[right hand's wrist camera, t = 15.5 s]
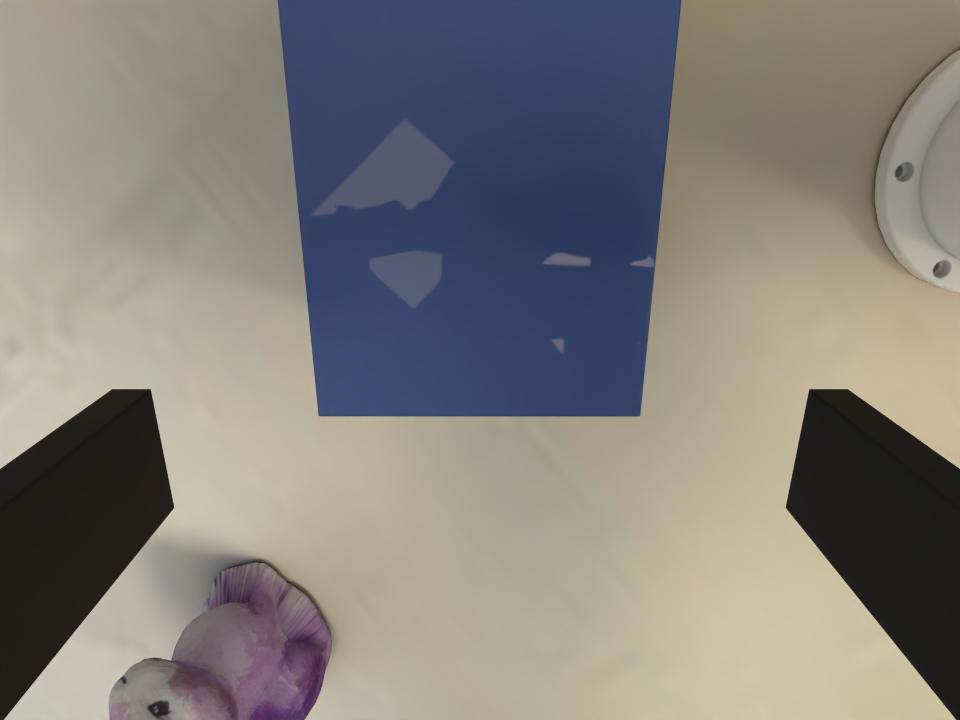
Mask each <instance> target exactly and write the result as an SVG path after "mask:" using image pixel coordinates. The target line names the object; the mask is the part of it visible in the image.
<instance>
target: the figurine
mask: <svg viewBox="0 0 960 720" xmlns="http://www.w3.org/2000/svg"><path fill="white" fill-rule="evenodd" d="M202 610H203V614H201V615H200V616H199V617H197V618H196V619H195V620H193V621H192V622H191V623H190V624H189V625H188V626H187V627H186V628H185V629H184V631H183V632H182V634H181V636H180V638H179V640H178V642H177V644H176V647H175V649H174V653H173V656H172V660H171V661H170V660H165V659H161V658H149V659H144V660H142V661H141V662H139V663H136V664H135V665H133V666H132V667H130V668H129V669H128V670H127V672H126V673H125V674H124V675H123V677H121V678H120V679H119V680H118V681H117V682H116V684H115V685H114V687H113V688H112V691H111V693H110V698H109V712H110V720H305V718H306V717H307V715H308V713H309V712H310V710H311V709H312V707H313V706H314V704H315V703H316V700H317V698H318V696H319V693H320V691H321V687H322V683H323V679H324V673H325V669H326V667H327V664H328V661H329V658H330V652H331V643H332V641H331V636H330V632H329V631H328V628H327V627H326V625H325V623H324V621H323V619H322V617H321V615H320V613H319V612H318V610H317V608H316V607H315V605H314V604H313V603H312V601H311V600H310V599H309V598H308V595H307V594H305V593H303V592H301V591H300V590H299V589H297V588H296V587H294V586H292V585H291V584H289V583H287V582H286V581H285V580H284V579H282V578H281V577H280V575H279V574H277V573H276V571H275V570H274V569H272V568H271V567H269V566H268V565H267V564H265V563H257V562H255V563H251V564H247V565H243V566H241V565H240V566H239V567H237V566H236V567H235V568H233V567H232V568H228V569H227V570H225V571H222V573H219V574H218V576H217V577H216V578H215V579H214V581H213V583H212V587H211V595H210V598H209V599H208V600H207V601H206V602H205V604H204V606H203V609H202Z"/></svg>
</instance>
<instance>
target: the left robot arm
mask: <svg viewBox="0 0 960 720" xmlns="http://www.w3.org/2000/svg"><path fill="white" fill-rule="evenodd" d="M896 169H897V173H896V174H895V172H896ZM875 207H876V213H877V219H878V225H879V228H880V230H881V233H882V235H883V238H884V240H885V242H886V245H887V247H888V248H889V249H890V251H891V252H892V254H893V255H894V256H895V258H896V259H897V261H898V262H899V263H900V264H901V265H902V266H903V267H905V268H906V269H907V270H908V271H909V272H910V273H912V274H913V275H914V276H915V277H917V278H919V279H921V280H923V281H925V282H927V283H929V284H931V285H933V286H936V287H939V288H942V289H945V290H948V291H951V292H954V293H959V294H960V49H959V50H958V51H956V52H955V53H953V54H952V55H950V56H949V57H948V58H947V59H945V60H944V61H943V62H942V63H941V64H940V65H939V66H938V67H937V68H935V69H934V70H933V71H932V72H931V73H930V74H929V75H928V76H927V77H926V78H925V79H924V80H923V81H922V83H921V84H920V85H919V86H918V87H917V89H916V90H915V91H914V92H913V93H912V95H911V96H910V97H909V98H908V100H907V101H906V103H905V104H904V106H903V108H902V109H901V111H900V113H899V114H898V116H897V118H896V119H895V121H894V123H893V124H892V126H891V129H890V131H889V134H888V136H887V139H886V141H885V144H884V146H883V149H882V151H881V155H880V159H879V164H878V169H877V173H876V178H875Z"/></svg>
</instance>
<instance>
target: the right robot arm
mask: <svg viewBox="0 0 960 720" xmlns="http://www.w3.org/2000/svg"><path fill="white" fill-rule="evenodd" d="M173 509H174V504H173V499H172V494H171V489H170V484H169V479H168V474H167V469H166V464H165V459H164V454H163V449H162V444H161V439H160V434H159V429H158V424H157V419H156V414H155V409H154V404H153V399H152V394H151V389H112V390H111V391H109V392H108V393H106V394H105V395H104V396H102V397H101V398H99V399H98V400H97V401H95V402H94V403H92V404H91V405H90V406H88V407H87V408H85V409H84V410H83V411H81V412H80V413H78V414H77V415H75V416H74V417H73V418H71V419H70V420H68V421H67V422H66V423H64V424H63V425H61V426H60V427H59V428H57V429H56V430H54V431H53V432H52V433H50V434H49V435H47V436H46V437H45V438H43V439H42V440H40V441H39V442H38V443H36V444H35V445H33V446H32V447H31V448H29V449H28V450H26V451H25V452H24V453H22V454H21V455H19V456H18V457H17V458H15V459H14V460H12V461H11V462H9V463H8V464H7V465H5V466H4V467H2V468H1V469H0V720H4V719H5V717H6V716H7V715H8V714H9V712H10V711H11V710H12V709H13V708H14V706H15V705H16V704H17V703H18V701H19V700H20V699H21V698H22V696H23V695H24V694H25V693H26V691H27V690H28V689H29V688H30V686H31V685H32V684H33V683H34V681H35V680H36V679H37V678H38V676H39V675H40V674H41V673H42V671H43V670H44V669H45V668H46V666H47V665H48V664H49V663H50V661H51V660H52V659H53V658H54V657H55V655H56V654H57V653H58V652H59V650H60V649H61V648H62V647H63V645H64V644H65V643H66V642H67V640H68V639H69V638H70V637H71V635H72V634H73V633H74V632H75V630H76V629H77V628H78V627H79V625H80V624H81V623H82V622H83V620H84V619H85V618H86V617H87V615H88V614H89V613H90V612H91V611H92V609H93V608H94V607H95V606H96V604H97V603H98V602H99V601H100V599H101V598H102V597H103V596H104V594H105V593H106V592H107V591H108V589H109V588H110V587H111V586H112V584H113V583H114V582H115V581H116V579H117V578H118V577H119V576H120V574H121V573H122V572H123V571H124V569H125V568H126V567H127V566H128V565H129V563H130V562H131V561H132V560H133V558H134V557H135V556H136V555H137V553H138V552H139V551H140V550H141V548H142V547H143V546H144V545H145V543H146V542H147V541H148V540H149V538H150V537H151V536H152V535H153V533H154V532H155V531H156V530H157V528H158V527H159V526H160V525H161V523H162V522H163V521H164V520H165V519H166V517H167V516H168V515H169V514H170V512H171V511H172V510H173ZM786 509H787V510H788V511H789V512H790V514H791V515H792V516H793V517H794V519H795V520H796V521H797V522H798V523H799V525H800V526H801V527H802V528H803V530H804V531H805V532H806V533H807V535H808V536H809V537H810V538H811V540H812V541H813V542H814V543H815V545H816V546H817V547H818V548H819V550H820V551H821V552H822V553H823V555H824V556H825V557H826V558H827V560H828V561H829V562H830V563H831V565H832V566H833V567H834V568H835V569H836V571H837V572H838V573H839V574H840V576H841V577H842V578H843V579H844V581H845V582H846V583H847V584H848V586H849V587H850V588H851V589H852V591H853V592H854V593H855V594H856V596H857V597H858V598H859V599H860V601H861V602H862V603H863V604H864V606H865V607H866V608H867V609H868V611H869V612H870V613H871V614H872V615H873V617H874V618H875V619H876V620H877V622H878V623H879V624H880V625H881V627H882V628H883V629H884V630H885V632H886V633H887V634H888V635H889V637H890V638H891V639H892V640H893V642H894V643H895V644H896V645H897V647H898V648H899V649H900V650H901V652H902V653H903V654H904V655H905V657H906V658H907V659H908V660H909V661H910V663H911V664H912V665H913V666H914V668H915V669H916V670H917V671H918V673H919V674H920V675H921V676H922V678H923V679H924V680H925V681H926V683H927V684H928V685H929V686H930V688H931V689H932V690H933V691H934V693H935V694H936V695H937V696H938V698H939V699H940V700H941V701H942V703H943V704H944V705H945V706H946V708H947V709H948V710H949V711H950V712H951V714H952V715H953V716H954V717H955V719H956V720H960V469H959V468H958V467H956V466H955V465H953V464H952V463H951V462H949V461H948V460H946V459H945V458H943V457H942V456H941V455H939V454H938V453H936V452H935V451H934V450H932V449H931V448H929V447H928V446H927V445H925V444H924V443H922V442H921V441H920V440H918V439H917V438H915V437H914V436H913V435H911V434H910V433H908V432H907V431H906V430H904V429H903V428H901V427H900V426H899V425H897V424H896V423H894V422H893V421H892V420H890V419H889V418H887V417H886V416H885V415H883V414H882V413H880V412H879V411H877V410H876V409H875V408H873V407H872V406H870V405H869V404H868V403H866V402H865V401H863V400H862V399H861V398H859V397H858V396H856V395H855V394H854V393H852V392H851V391H849V390H848V389H809V394H808V399H807V404H806V409H805V414H804V419H803V424H802V429H801V434H800V439H799V444H798V449H797V454H796V459H795V464H794V469H793V474H792V479H791V484H790V489H789V494H788V499H787V504H786Z"/></svg>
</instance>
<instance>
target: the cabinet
mask: <svg viewBox="0 0 960 720" xmlns="http://www.w3.org/2000/svg"><path fill="white" fill-rule="evenodd" d="M680 6H681V0H278V7H279V17H280V27H281V37H282V47H283V58H284V68H285V78H286V88H287V98H288V108H289V119H290V129H291V139H292V149H293V159H294V170H295V180H296V190H297V200H298V210H299V220H300V231H301V241H302V251H303V261H304V271H305V282H306V292H307V302H308V312H309V322H310V333H311V343H312V353H313V363H314V373H315V383H316V394H317V404H318V414H319V416H640V412H641V402H642V392H643V382H644V372H645V362H646V351H647V341H648V331H649V321H650V311H651V301H652V291H653V280H654V270H655V260H656V250H657V240H658V230H659V220H660V209H661V199H662V189H663V179H664V169H665V159H666V149H667V138H668V128H669V118H670V108H671V98H672V88H673V78H674V67H675V57H676V47H677V37H678V27H679V17H680Z"/></svg>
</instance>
